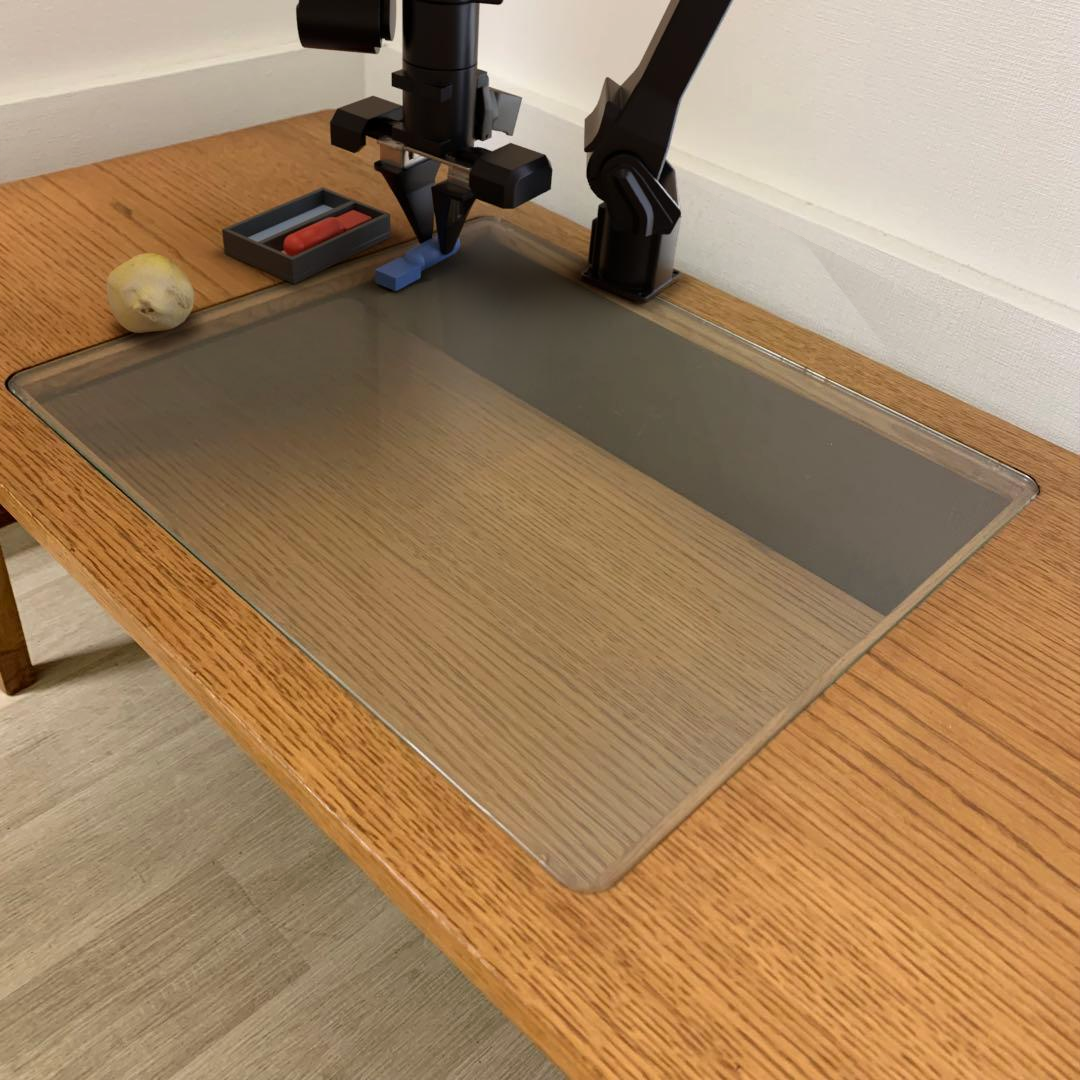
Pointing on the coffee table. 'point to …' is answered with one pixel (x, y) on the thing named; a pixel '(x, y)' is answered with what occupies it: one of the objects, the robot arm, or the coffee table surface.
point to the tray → (268, 230)
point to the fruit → (149, 294)
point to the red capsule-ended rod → (322, 232)
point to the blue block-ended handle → (411, 264)
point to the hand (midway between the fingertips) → (436, 249)
